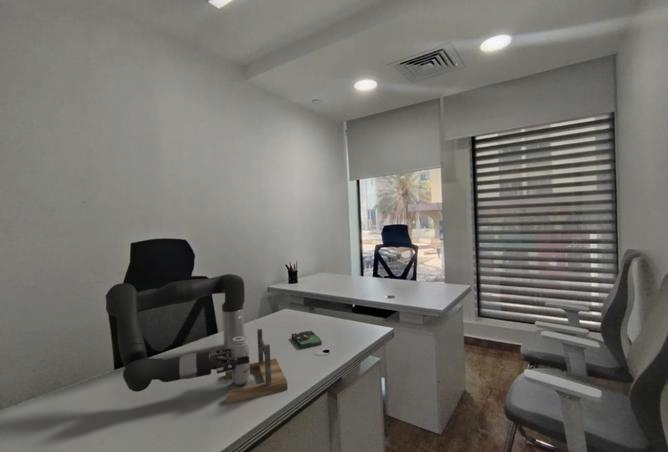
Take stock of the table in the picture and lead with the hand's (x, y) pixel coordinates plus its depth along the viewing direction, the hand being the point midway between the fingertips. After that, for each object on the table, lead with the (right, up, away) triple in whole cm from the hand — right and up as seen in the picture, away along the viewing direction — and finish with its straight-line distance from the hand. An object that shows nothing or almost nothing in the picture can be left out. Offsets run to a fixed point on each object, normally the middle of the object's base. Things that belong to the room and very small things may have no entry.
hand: (247, 355), depth 109 cm
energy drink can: (-2, -9, -1) cm, 9 cm away
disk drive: (+18, -9, +36) cm, 41 cm away
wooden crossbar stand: (+2, -10, +1) cm, 10 cm away
